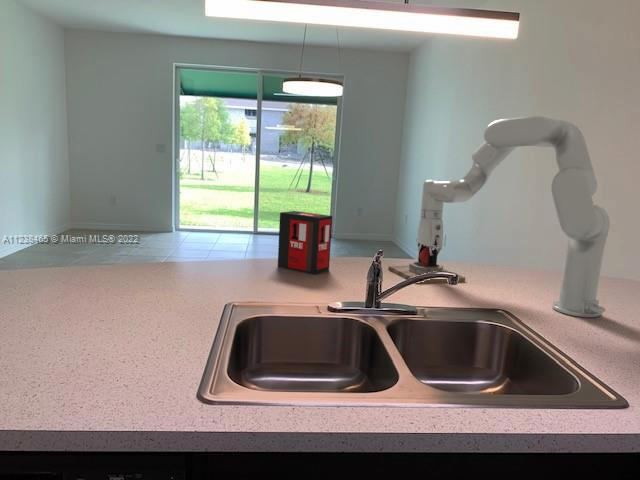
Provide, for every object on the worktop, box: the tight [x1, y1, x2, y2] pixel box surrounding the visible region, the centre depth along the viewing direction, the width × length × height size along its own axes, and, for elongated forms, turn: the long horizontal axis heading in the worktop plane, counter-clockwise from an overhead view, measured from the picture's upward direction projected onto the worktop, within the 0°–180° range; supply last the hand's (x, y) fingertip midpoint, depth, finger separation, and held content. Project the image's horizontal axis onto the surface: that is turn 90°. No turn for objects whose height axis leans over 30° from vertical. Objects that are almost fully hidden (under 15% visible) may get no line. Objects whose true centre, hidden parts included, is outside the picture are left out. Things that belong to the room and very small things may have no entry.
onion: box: [420, 247, 430, 267], centre depth 182 cm, size 6×6×8 cm
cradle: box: [387, 260, 466, 284], centre depth 183 cm, size 20×20×4 cm
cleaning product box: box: [277, 210, 333, 276], centre depth 181 cm, size 16×9×20 cm, turn 58°
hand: (427, 263), depth 182 cm, fingers closed on onion, 5 cm apart
